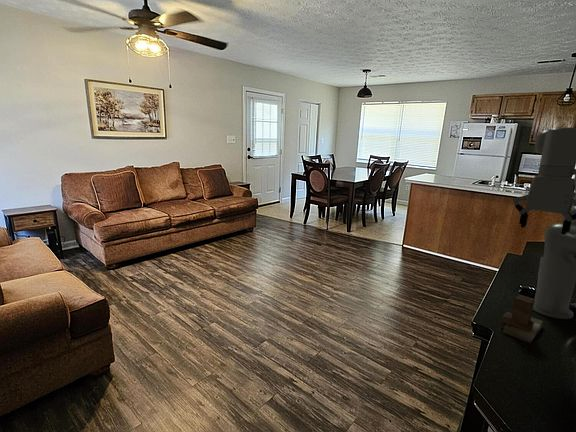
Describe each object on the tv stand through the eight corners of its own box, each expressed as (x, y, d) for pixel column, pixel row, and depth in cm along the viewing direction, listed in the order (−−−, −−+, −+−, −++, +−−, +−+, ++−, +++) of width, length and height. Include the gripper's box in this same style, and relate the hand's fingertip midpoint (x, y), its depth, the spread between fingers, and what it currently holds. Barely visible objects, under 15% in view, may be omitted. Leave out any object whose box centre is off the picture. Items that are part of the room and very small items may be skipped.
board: (516, 317, 107) (517, 312, 106) (541, 326, 102) (543, 321, 101) (502, 332, 98) (503, 326, 97) (530, 343, 93) (531, 337, 92)
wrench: (534, 298, 128) (537, 270, 150) (540, 300, 127) (542, 271, 149) (538, 281, 126) (541, 254, 148) (544, 282, 125) (546, 255, 147)
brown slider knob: (504, 322, 103) (510, 291, 100) (531, 332, 97) (539, 300, 95) (500, 326, 100) (506, 295, 98) (528, 337, 95) (535, 304, 92)
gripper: (598, 174, 86) (583, 235, 90) (522, 169, 99) (512, 222, 103) (594, 175, 81) (579, 239, 85) (515, 170, 94) (504, 225, 98)
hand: (542, 230), depth 94 cm, fingers open, 9 cm apart
